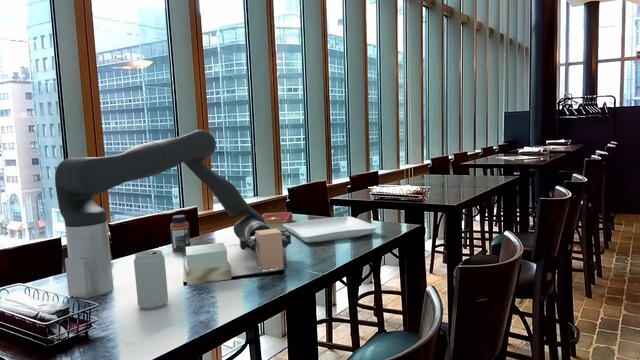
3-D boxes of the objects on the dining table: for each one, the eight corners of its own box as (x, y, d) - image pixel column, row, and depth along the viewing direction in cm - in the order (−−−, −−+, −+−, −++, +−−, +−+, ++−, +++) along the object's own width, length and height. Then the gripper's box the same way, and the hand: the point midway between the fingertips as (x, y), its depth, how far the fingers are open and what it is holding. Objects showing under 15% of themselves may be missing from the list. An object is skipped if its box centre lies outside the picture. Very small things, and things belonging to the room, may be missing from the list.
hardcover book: (292, 221, 203) (292, 211, 202) (287, 231, 182) (286, 220, 181) (264, 222, 203) (263, 212, 203) (255, 233, 182) (255, 222, 182)
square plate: (349, 224, 189) (349, 214, 189) (379, 237, 163) (379, 226, 163) (282, 232, 181) (282, 222, 180) (303, 247, 155) (302, 235, 154)
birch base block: (187, 287, 120) (186, 271, 120) (185, 275, 131) (184, 261, 130) (231, 280, 124) (230, 265, 123) (226, 270, 134) (225, 256, 134)
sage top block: (187, 271, 121) (186, 255, 120) (186, 261, 130) (185, 246, 130) (227, 265, 123) (226, 250, 123) (224, 256, 133) (223, 242, 133)
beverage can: (159, 311, 103) (154, 256, 102) (132, 310, 104) (127, 256, 103) (173, 300, 109) (169, 249, 108) (148, 300, 110) (143, 249, 109)
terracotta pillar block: (262, 271, 129) (259, 234, 128) (257, 266, 135) (255, 230, 134) (283, 268, 131) (281, 232, 130) (278, 263, 136) (276, 228, 135)
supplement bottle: (175, 247, 163) (172, 214, 162) (193, 247, 162) (190, 214, 161) (169, 252, 157) (166, 218, 156) (187, 251, 156) (184, 217, 155)
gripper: (234, 225, 143) (243, 235, 128) (280, 220, 148) (294, 229, 132) (236, 250, 144) (245, 263, 129) (282, 244, 148) (296, 256, 133)
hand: (270, 246), depth 130 cm, fingers open, 8 cm apart
